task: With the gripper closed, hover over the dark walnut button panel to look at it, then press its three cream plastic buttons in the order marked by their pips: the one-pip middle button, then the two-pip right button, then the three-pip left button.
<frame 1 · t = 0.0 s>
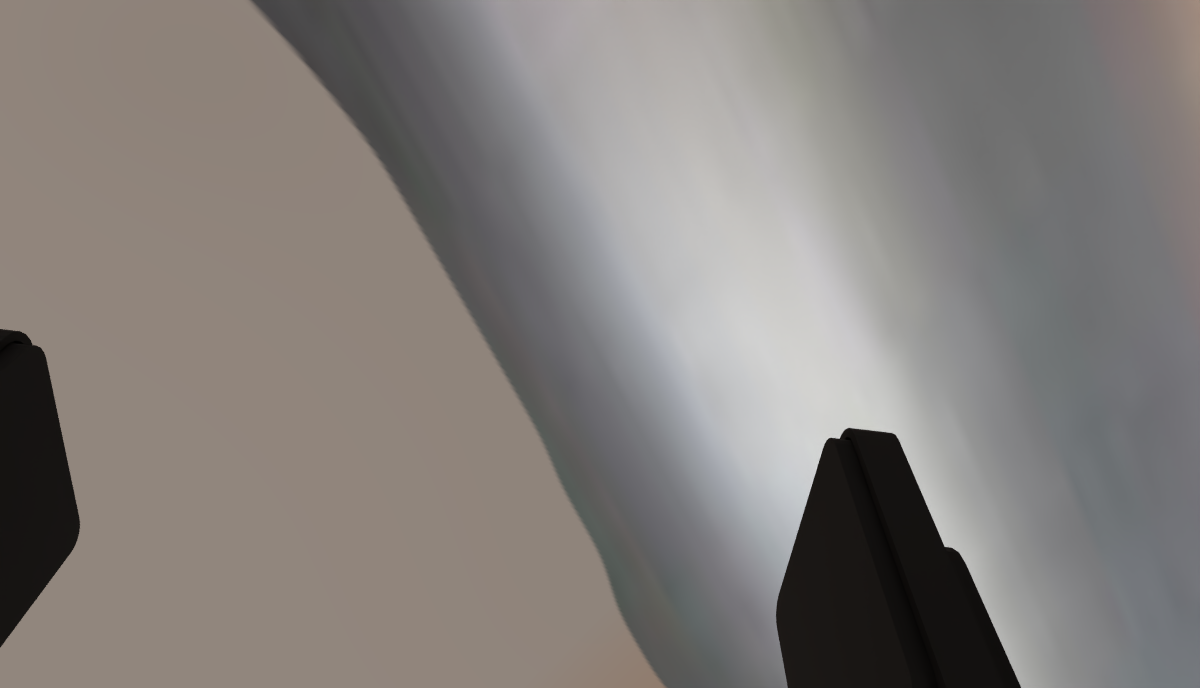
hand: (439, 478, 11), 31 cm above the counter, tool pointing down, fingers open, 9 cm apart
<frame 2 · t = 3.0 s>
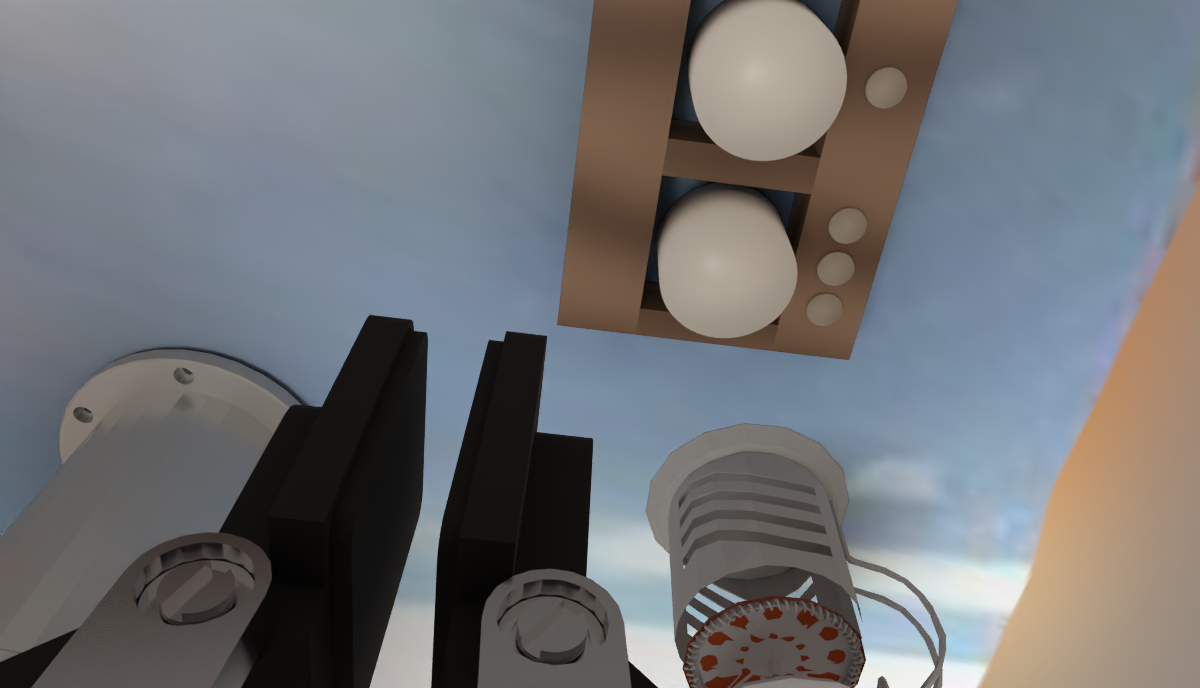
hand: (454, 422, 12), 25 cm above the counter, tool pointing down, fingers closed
button panel: (752, 53, 34), on the counter
french press: (764, 502, 45), on the counter
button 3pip: (724, 260, 35), point 3 cm above the counter, slide at 0.0 cm
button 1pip: (762, 74, 32), point 3 cm above the counter, slide at 0.0 cm
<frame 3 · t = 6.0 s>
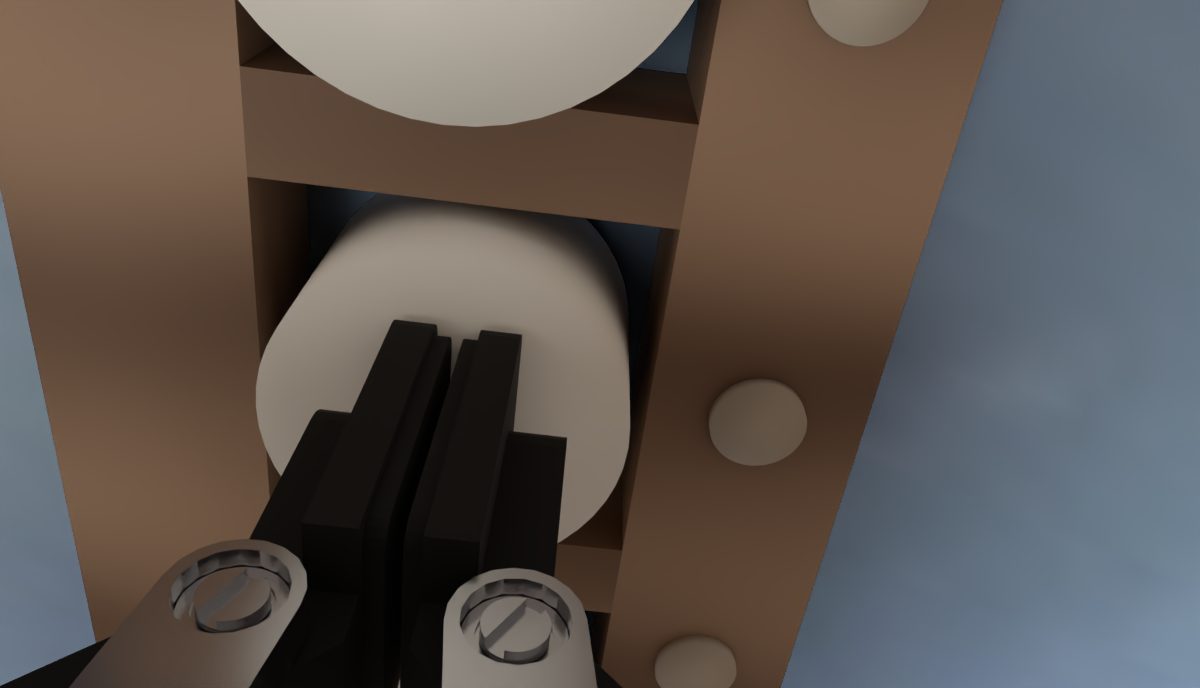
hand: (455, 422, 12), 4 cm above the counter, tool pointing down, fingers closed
button panel: (478, 304, 16), on the counter
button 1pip: (461, 365, 14), point 2 cm above the counter, slide at 1.1 cm, touching gripper
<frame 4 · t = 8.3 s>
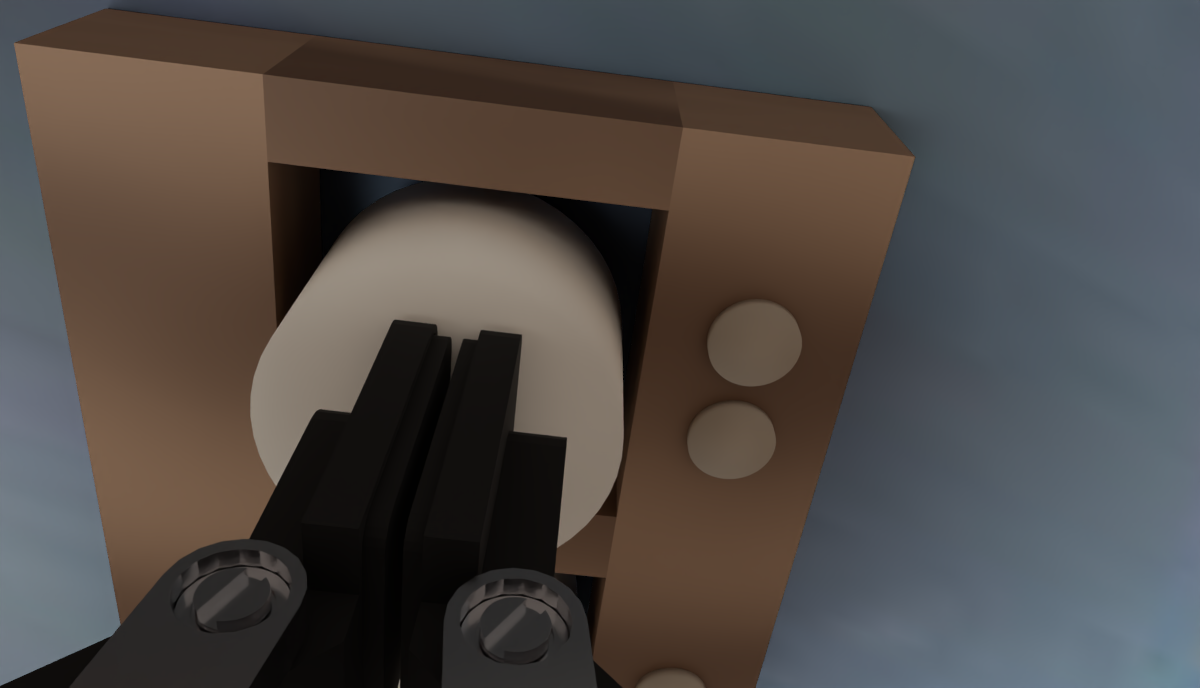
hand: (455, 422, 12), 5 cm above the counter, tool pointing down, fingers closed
button panel: (461, 577, 20), on the counter
button 2pip: (455, 374, 14), point 3 cm above the counter, slide at 0.1 cm, touching gripper
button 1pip: (447, 645, 18), point 2 cm above the counter, slide at 1.2 cm
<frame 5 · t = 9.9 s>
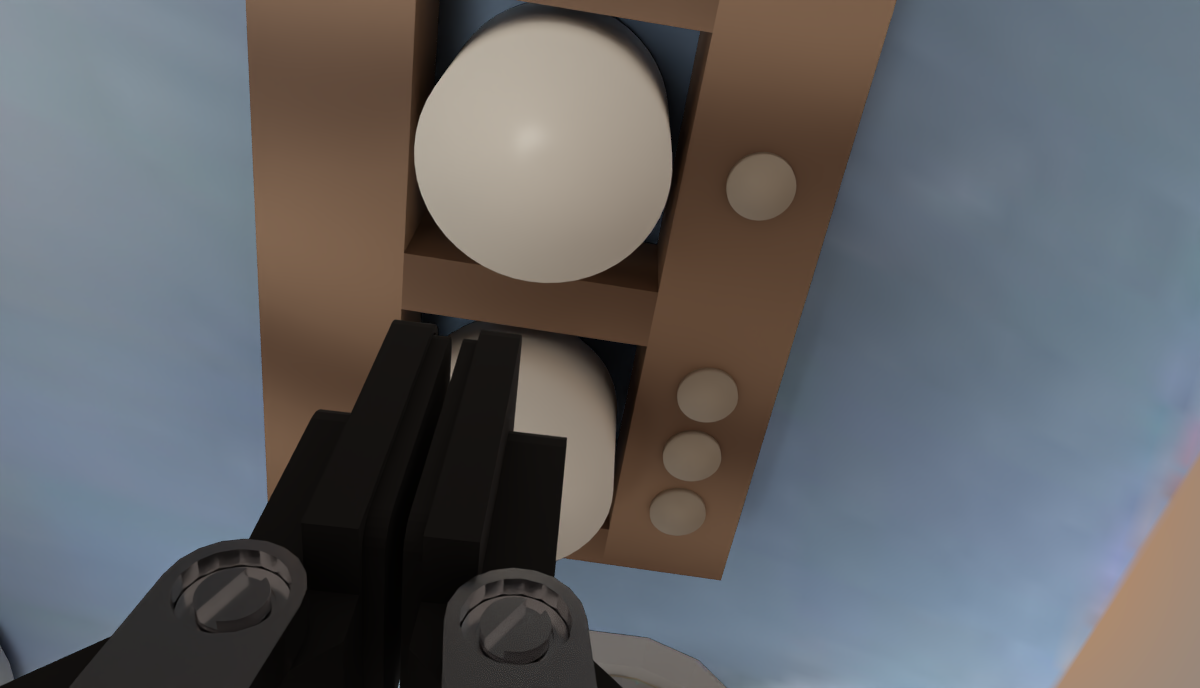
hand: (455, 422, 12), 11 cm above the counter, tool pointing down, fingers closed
button panel: (557, 113, 21), on the counter
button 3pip: (509, 442, 22), point 3 cm above the counter, slide at 0.0 cm
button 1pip: (550, 140, 19), point 2 cm above the counter, slide at 1.2 cm
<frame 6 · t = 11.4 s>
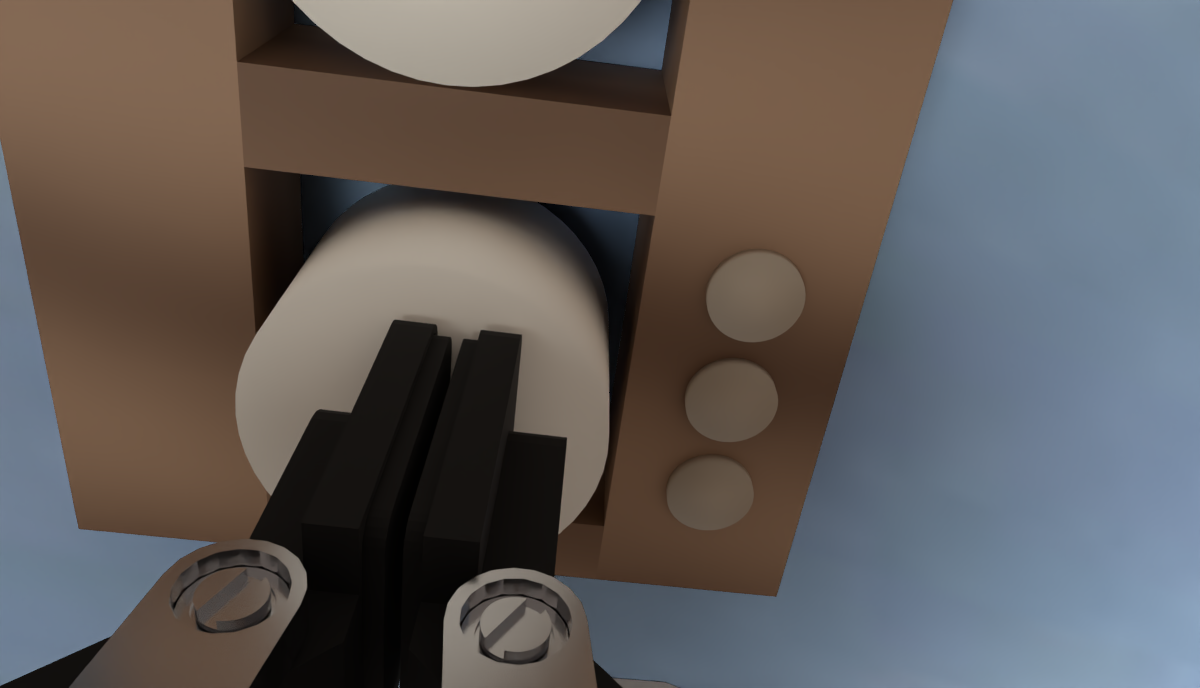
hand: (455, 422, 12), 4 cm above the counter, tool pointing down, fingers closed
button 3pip: (442, 371, 14), point 3 cm above the counter, slide at 0.4 cm, touching gripper
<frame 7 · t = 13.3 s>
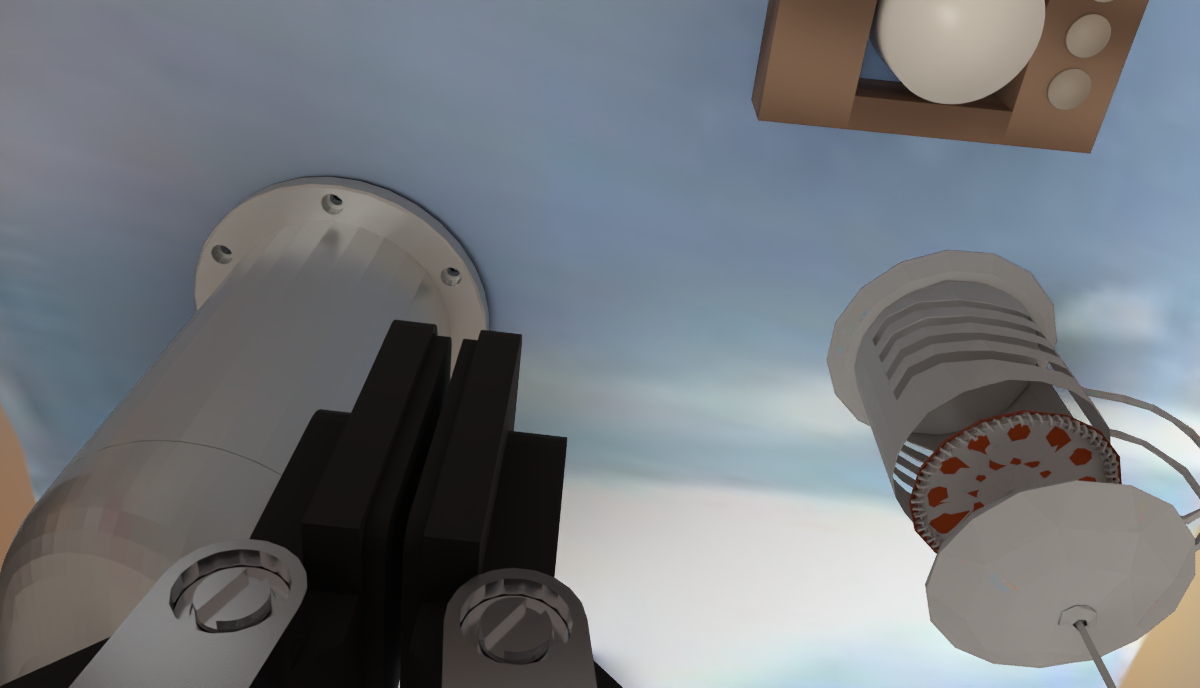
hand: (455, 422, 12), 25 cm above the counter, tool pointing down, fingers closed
french press: (959, 346, 41), on the counter
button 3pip: (951, 17, 32), point 2 cm above the counter, slide at 1.2 cm
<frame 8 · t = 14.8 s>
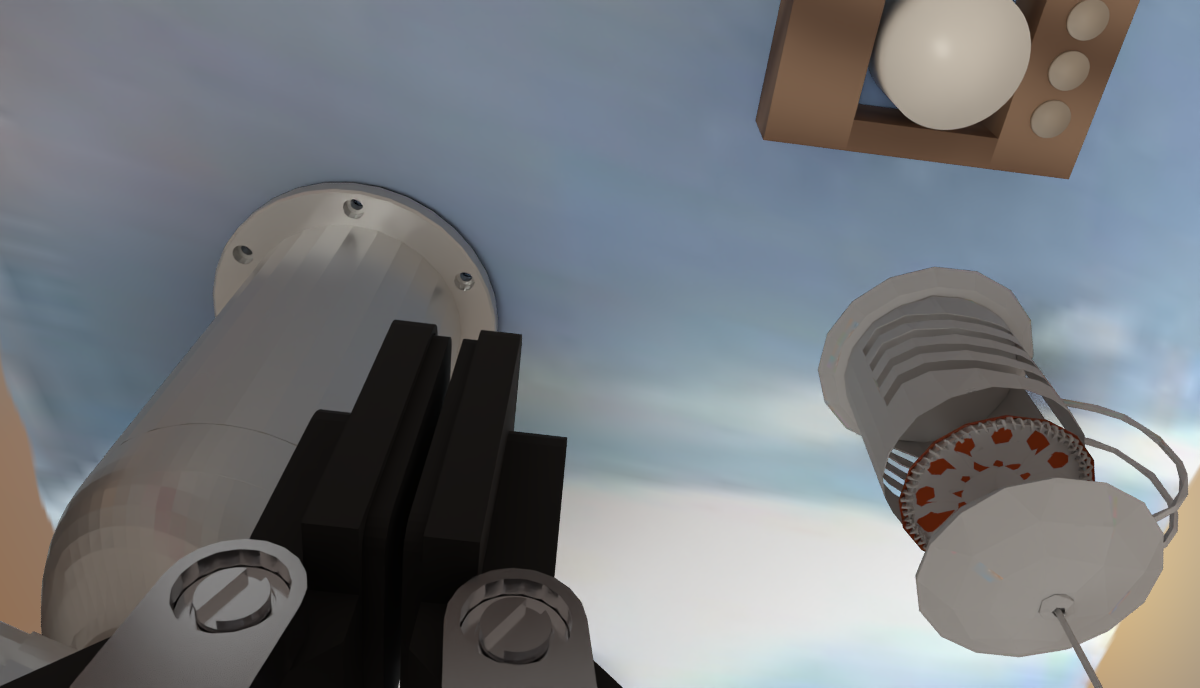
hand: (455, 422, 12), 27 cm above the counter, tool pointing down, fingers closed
french press: (943, 358, 43), on the counter
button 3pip: (944, 50, 34), point 2 cm above the counter, slide at 1.2 cm
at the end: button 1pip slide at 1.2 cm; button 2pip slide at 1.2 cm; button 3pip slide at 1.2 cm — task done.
